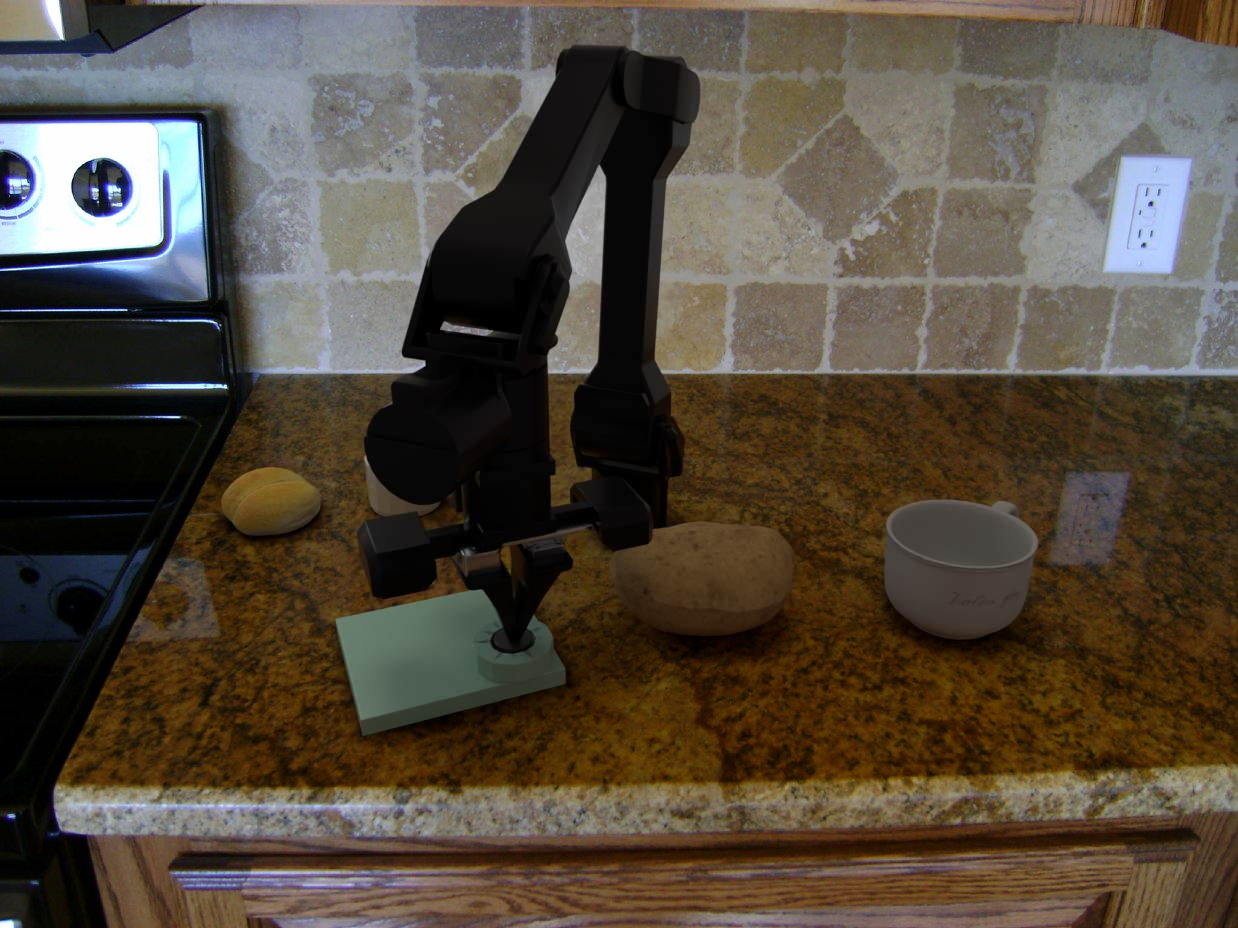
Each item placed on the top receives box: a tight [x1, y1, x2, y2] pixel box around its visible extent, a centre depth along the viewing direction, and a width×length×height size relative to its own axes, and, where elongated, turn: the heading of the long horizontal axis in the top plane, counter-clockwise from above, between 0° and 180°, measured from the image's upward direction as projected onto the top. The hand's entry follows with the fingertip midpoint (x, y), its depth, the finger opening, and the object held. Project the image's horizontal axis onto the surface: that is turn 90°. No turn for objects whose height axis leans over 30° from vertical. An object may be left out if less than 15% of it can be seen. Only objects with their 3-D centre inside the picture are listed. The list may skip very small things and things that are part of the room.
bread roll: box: [221, 466, 322, 537], centre depth 86 cm, size 8×9×4 cm
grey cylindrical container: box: [363, 454, 442, 517], centre depth 88 cm, size 7×7×5 cm
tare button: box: [494, 630, 532, 654], centre depth 65 cm, size 3×3×2 cm
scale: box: [335, 590, 567, 737], centre depth 67 cm, size 14×12×3 cm
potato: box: [608, 520, 796, 637], centre depth 70 cm, size 10×14×8 cm
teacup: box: [883, 499, 1039, 641], centre depth 72 cm, size 14×11×8 cm
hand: (513, 637), depth 65 cm, fingers closed, pressing on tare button
